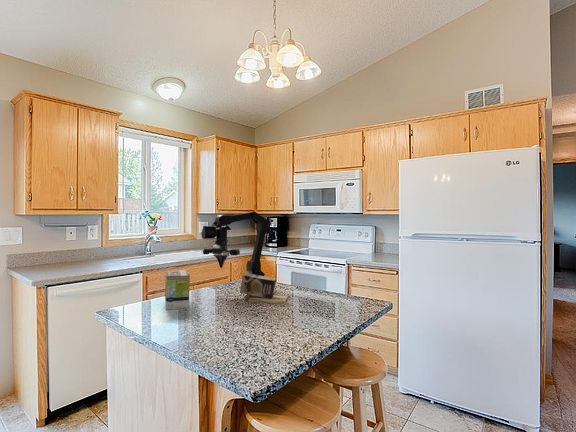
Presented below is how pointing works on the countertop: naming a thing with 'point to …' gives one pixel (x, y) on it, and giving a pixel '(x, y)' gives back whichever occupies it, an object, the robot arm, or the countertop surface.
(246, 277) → the coffee box
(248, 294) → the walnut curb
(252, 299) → the maple board
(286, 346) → the countertop surface
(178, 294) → the tea box
